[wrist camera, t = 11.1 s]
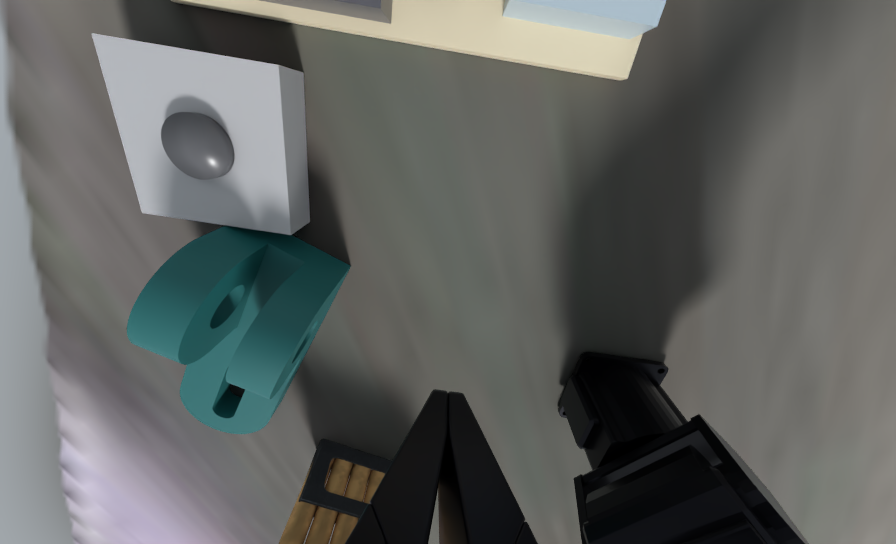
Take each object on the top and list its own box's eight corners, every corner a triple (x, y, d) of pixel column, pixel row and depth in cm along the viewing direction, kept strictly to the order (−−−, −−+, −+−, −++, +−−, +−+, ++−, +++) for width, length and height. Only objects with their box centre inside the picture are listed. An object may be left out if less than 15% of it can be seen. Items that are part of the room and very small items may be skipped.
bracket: (253, 213, 20) (138, 264, 13) (351, 264, 21) (297, 337, 14) (194, 390, 27) (98, 488, 20) (271, 421, 28) (208, 522, 21)
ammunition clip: (316, 449, 29) (233, 642, 18) (321, 437, 29) (239, 631, 18) (420, 483, 31) (401, 676, 20) (428, 473, 30) (412, 668, 20)
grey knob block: (303, 72, 16) (271, 62, 13) (310, 221, 20) (285, 238, 17) (143, 45, 16) (76, 29, 13) (179, 202, 19) (131, 216, 16)
